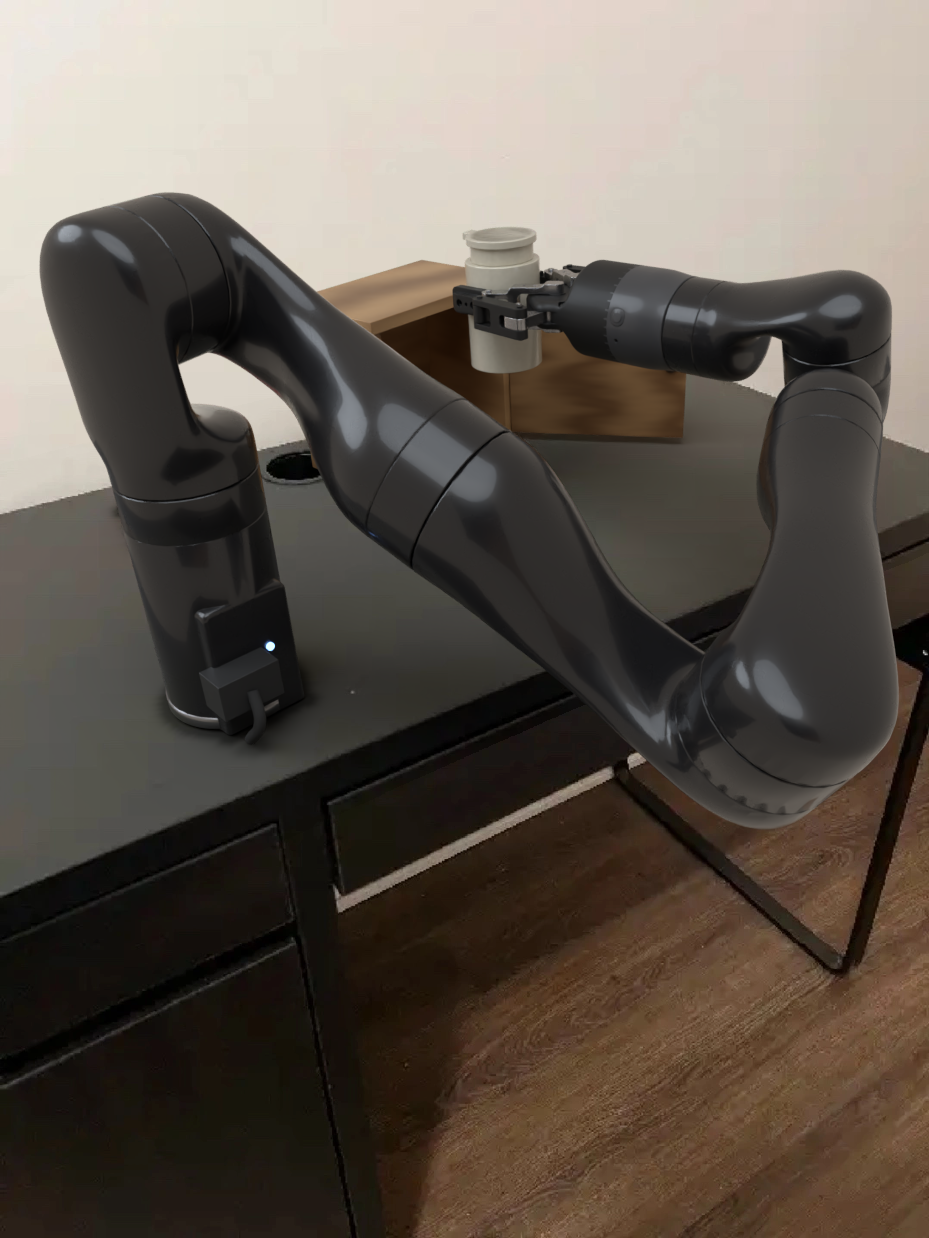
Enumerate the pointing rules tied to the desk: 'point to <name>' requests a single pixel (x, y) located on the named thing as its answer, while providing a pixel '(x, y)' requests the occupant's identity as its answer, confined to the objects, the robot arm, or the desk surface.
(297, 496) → the desk surface
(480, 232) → the white jar
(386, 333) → the cabinet
